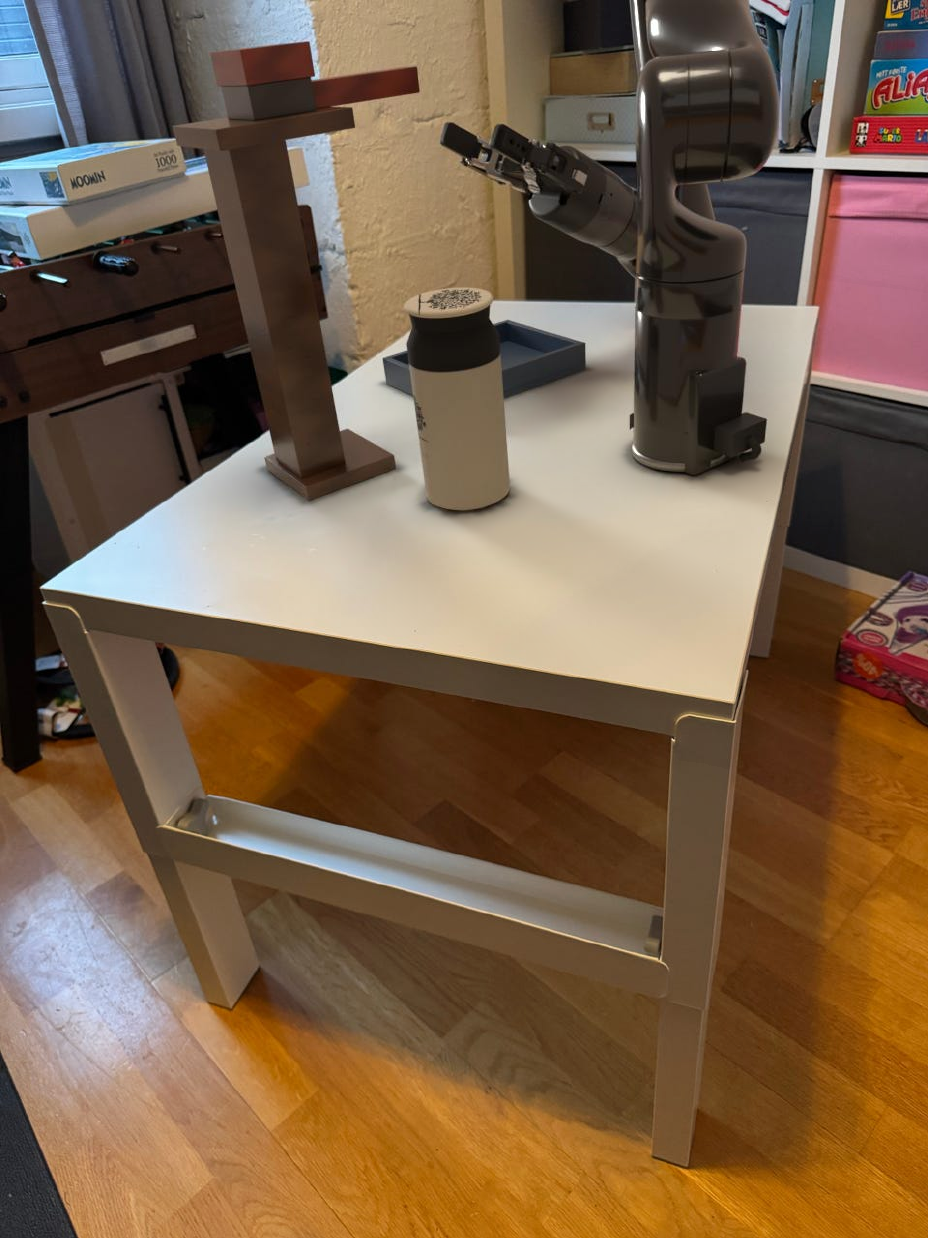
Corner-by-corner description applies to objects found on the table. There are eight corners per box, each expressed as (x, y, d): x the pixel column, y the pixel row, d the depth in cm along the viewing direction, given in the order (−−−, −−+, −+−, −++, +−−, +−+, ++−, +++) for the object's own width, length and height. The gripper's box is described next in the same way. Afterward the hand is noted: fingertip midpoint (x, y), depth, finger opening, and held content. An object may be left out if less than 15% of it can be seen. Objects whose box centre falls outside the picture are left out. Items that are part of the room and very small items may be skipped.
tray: (585, 369, 108) (585, 342, 107) (455, 415, 100) (452, 387, 98) (509, 343, 119) (507, 319, 118) (386, 383, 111) (382, 357, 109)
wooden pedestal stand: (299, 504, 85) (215, 129, 67) (258, 472, 92) (171, 125, 74) (404, 465, 90) (352, 106, 72) (357, 438, 97) (299, 105, 79)
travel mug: (512, 473, 86) (499, 283, 76) (507, 511, 80) (491, 309, 70) (433, 476, 87) (409, 289, 77) (420, 514, 81) (393, 316, 71)
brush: (254, 120, 70) (239, 49, 67) (224, 119, 75) (209, 52, 72) (432, 92, 77) (425, 26, 75) (395, 92, 82) (387, 30, 79)
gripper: (552, 158, 99) (440, 91, 88) (642, 165, 89) (527, 90, 78) (528, 227, 101) (416, 169, 90) (614, 242, 91) (499, 178, 80)
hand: (468, 133), depth 84 cm, fingers open, 8 cm apart
